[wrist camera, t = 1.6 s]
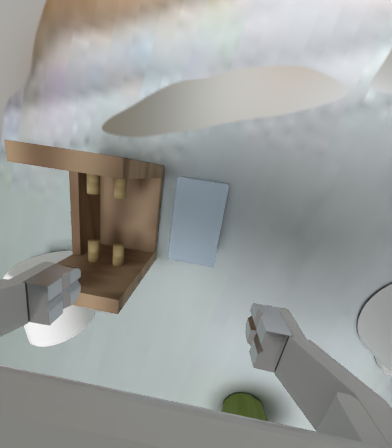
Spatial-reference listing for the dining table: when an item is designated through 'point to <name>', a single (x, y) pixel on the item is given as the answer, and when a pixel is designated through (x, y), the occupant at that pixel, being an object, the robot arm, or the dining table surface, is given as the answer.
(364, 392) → the robot arm
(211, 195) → the light blue block
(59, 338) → the mug
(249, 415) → the plant pot
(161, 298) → the dining table surface
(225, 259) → the dining table surface
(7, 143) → the stand
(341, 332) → the dining table surface
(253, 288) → the dining table surface
